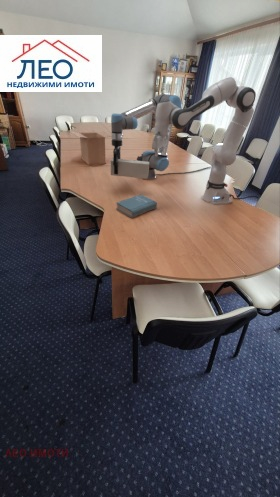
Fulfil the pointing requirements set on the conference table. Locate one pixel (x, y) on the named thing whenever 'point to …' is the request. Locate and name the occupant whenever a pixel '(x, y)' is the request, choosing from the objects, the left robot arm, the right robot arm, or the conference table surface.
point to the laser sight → (139, 158)
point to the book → (136, 205)
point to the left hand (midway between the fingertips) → (117, 172)
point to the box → (92, 146)
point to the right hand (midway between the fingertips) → (158, 154)
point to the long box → (131, 168)
